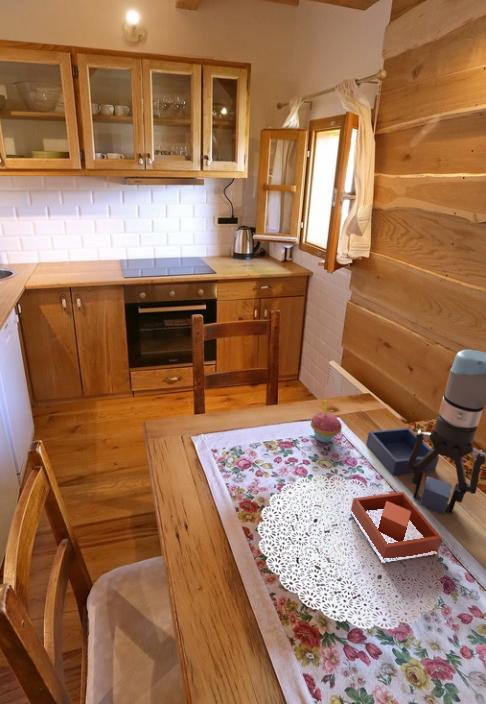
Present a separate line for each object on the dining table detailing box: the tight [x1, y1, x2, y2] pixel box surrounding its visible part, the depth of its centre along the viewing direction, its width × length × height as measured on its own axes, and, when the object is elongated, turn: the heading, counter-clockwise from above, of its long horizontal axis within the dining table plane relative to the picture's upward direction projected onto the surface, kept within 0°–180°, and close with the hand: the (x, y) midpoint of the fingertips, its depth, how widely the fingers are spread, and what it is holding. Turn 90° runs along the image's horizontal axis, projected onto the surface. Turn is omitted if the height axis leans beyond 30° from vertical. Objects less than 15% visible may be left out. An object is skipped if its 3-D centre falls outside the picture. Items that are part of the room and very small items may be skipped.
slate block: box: [419, 475, 452, 516], centre depth 95 cm, size 5×5×5 cm
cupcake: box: [310, 399, 343, 443], centre depth 115 cm, size 9×8×12 cm
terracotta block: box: [378, 501, 411, 542], centre depth 86 cm, size 5×5×5 cm
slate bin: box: [365, 427, 440, 477], centre depth 110 cm, size 13×13×4 cm
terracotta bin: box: [350, 491, 443, 559], centre depth 86 cm, size 13×13×4 cm
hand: (432, 502), depth 95 cm, fingers open, 7 cm apart
